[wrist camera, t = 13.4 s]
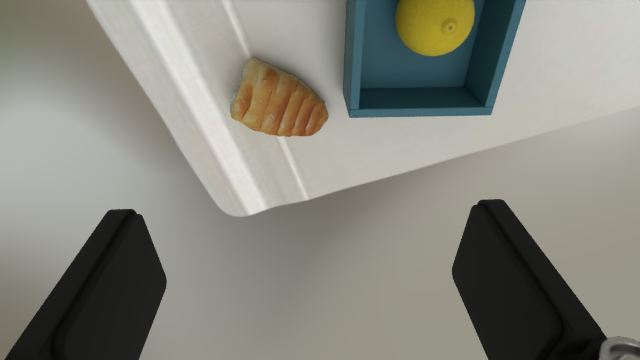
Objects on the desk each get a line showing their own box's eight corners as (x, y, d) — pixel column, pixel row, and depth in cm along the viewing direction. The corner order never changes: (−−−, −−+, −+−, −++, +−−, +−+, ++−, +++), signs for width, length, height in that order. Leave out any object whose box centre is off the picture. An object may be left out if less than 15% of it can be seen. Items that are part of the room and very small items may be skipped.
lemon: (454, -34, 28) (500, -24, 22) (447, 37, 32) (484, 64, 25) (387, -26, 29) (411, -14, 22) (386, 44, 32) (407, 73, 25)
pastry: (337, 88, 35) (341, 103, 32) (312, 142, 38) (312, 161, 35) (246, 50, 32) (240, 63, 29) (227, 112, 36) (220, 130, 33)
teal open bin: (350, -107, 26) (361, -116, 21) (515, -107, 27) (561, -115, 22) (342, 93, 35) (349, 118, 30) (466, 91, 36) (491, 115, 31)
